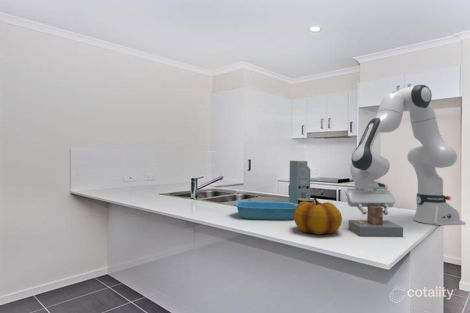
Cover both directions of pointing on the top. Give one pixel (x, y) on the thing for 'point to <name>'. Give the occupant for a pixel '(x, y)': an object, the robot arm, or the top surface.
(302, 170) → the device
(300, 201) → the coffee mug
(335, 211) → the decorative pumpkin
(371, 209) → the walnut plug
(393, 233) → the socket block
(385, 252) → the top surface
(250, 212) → the casserole dish
